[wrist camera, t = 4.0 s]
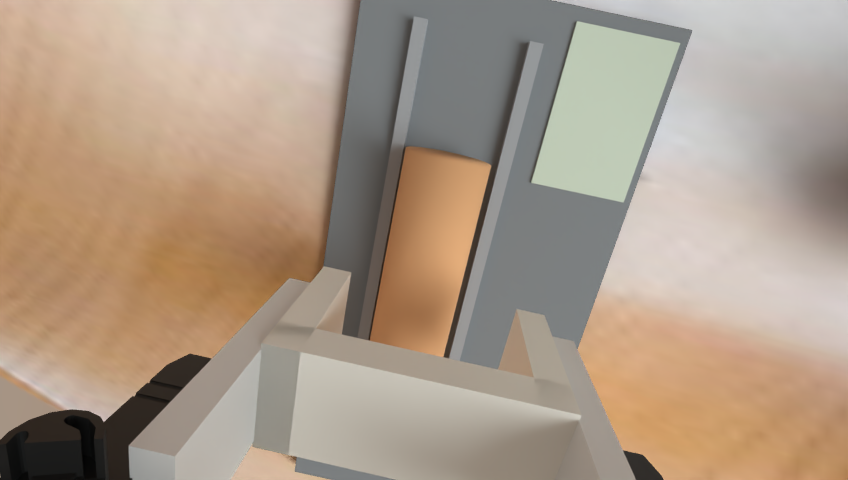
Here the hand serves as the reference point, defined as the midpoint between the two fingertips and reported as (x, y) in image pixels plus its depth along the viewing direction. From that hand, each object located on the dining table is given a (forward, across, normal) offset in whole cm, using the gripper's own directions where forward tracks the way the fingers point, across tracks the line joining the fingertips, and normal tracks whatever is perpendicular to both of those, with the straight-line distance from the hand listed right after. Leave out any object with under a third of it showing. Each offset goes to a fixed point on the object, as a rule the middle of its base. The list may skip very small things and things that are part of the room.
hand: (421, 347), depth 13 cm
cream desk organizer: (+1, 0, 0) cm, 1 cm away
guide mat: (+7, +1, -1) cm, 7 cm away
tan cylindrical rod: (+6, 0, -1) cm, 6 cm away
